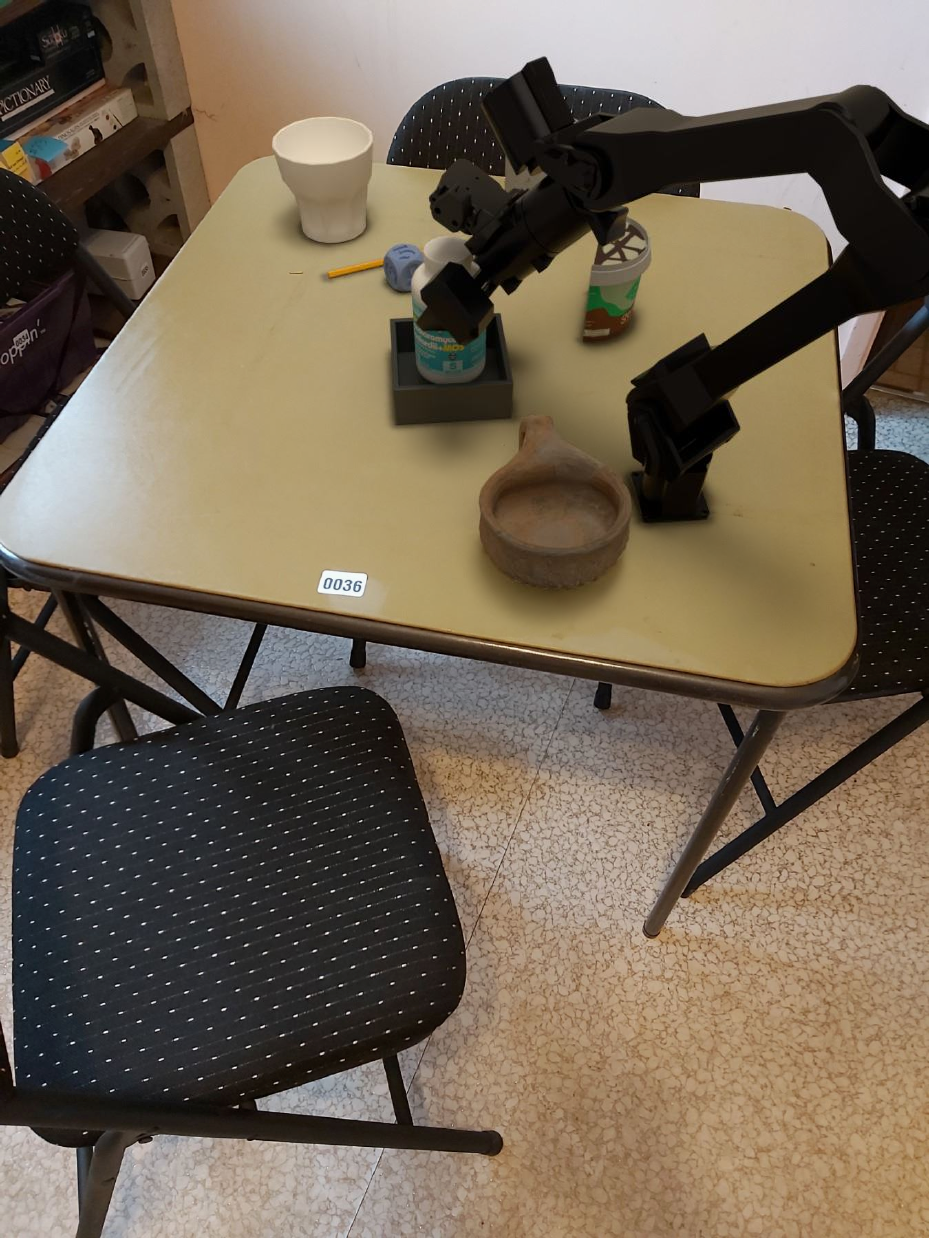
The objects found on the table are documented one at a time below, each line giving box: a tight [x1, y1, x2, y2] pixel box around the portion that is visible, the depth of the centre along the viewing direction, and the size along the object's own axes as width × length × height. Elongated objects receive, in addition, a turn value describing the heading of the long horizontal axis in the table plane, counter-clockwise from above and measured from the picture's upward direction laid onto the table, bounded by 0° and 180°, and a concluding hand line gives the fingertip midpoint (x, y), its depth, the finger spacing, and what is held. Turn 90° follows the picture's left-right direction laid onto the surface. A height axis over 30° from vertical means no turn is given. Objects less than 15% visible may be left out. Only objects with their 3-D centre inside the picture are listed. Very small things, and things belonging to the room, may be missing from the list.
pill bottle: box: [411, 235, 486, 384], centre depth 84 cm, size 8×7×14 cm
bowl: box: [478, 413, 633, 591], centre depth 75 cm, size 18×14×10 cm
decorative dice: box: [382, 243, 424, 293], centre depth 102 cm, size 4×4×4 cm
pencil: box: [327, 248, 424, 279], centre depth 106 cm, size 1×18×1 cm, turn 113°
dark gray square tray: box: [389, 312, 514, 426], centre depth 90 cm, size 12×12×4 cm
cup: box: [271, 116, 374, 244], centre depth 107 cm, size 12×12×11 cm
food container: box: [582, 215, 652, 343], centre depth 95 cm, size 12×6×10 cm, turn 168°
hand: (437, 305), depth 85 cm, fingers closed on pill bottle, 7 cm apart
